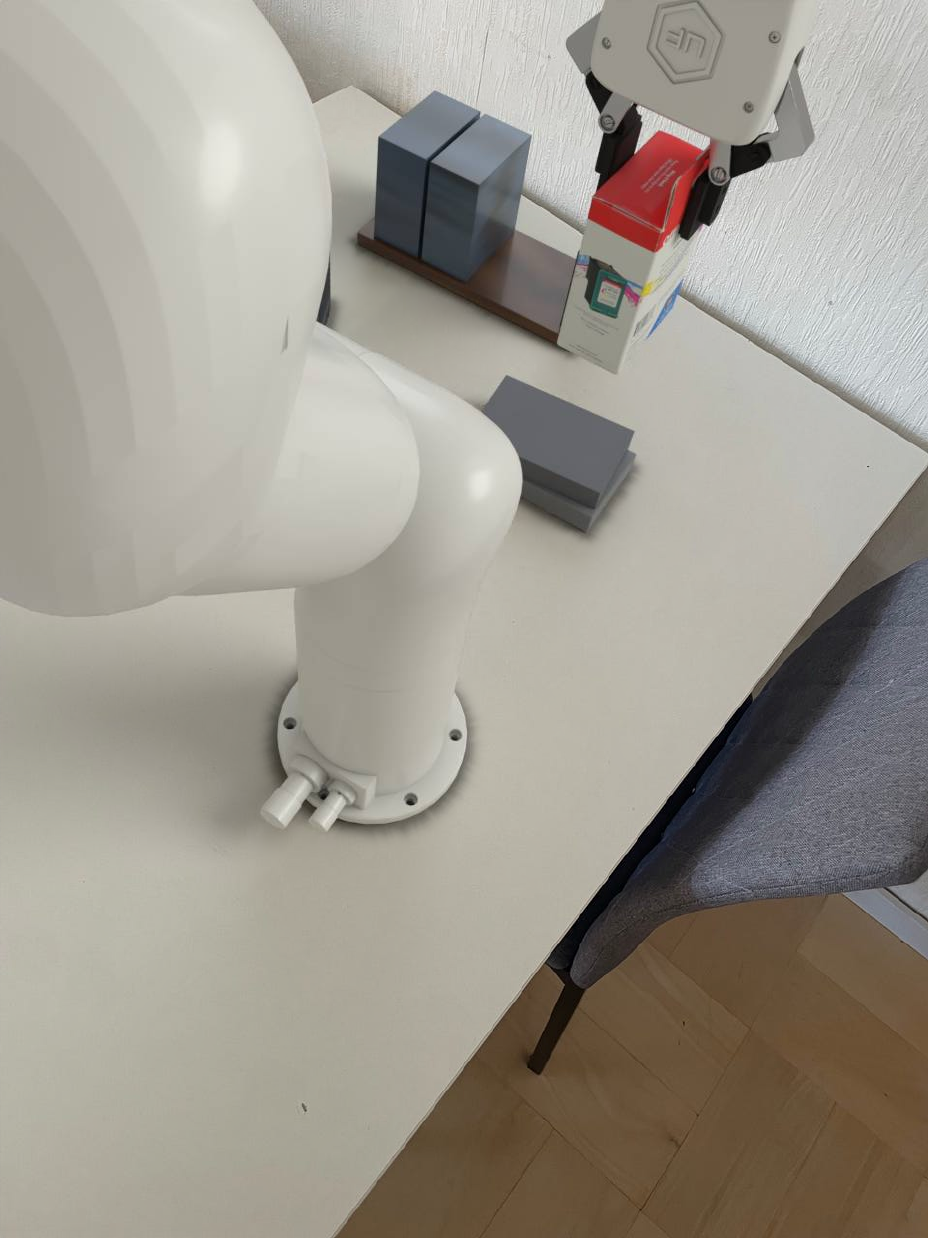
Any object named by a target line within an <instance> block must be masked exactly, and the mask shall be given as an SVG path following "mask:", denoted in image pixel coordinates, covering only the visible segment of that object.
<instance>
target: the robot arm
mask: <svg viewBox="0 0 928 1238" xmlns="http://www.w3.org/2000/svg"><path fill="white" fill-rule="evenodd" d="M820 2H821V0H604V1H603V5H602V8H601V10H600V11H599V12H597V13H596V14H595V15H594V16H592V17H591V18H590V19H589V20H587V21H586V22H584V23H583V24H582V25H581V26H579V27H578V28H576V30H575V31H573V32H572V33H571V34H570V35H569V36H568V37H567V38H566V39H565V47H566V50H567V53H569V55H570V57H571V58H572V60H573V62H574V63H575V65H576V67H577V69H578V70H579V72H580V74H581V75H582V74H583V75H584V77H585V80H584V81H585V87H586V89H587V91H588V93H589V95H590V97H591V100H592V101H593V103H594V105H595V107H596V110H597V112H598V114H599V116H598V118H597V123H598V127H599V129H600V130H601V131H602V136H601V141H600V145H599V150H598V153H597V158H596V161H595V167H594V172H595V173H597V174H599V176H598V181H597V184H596V188H595V193H596V192H597V191H598V190H599V189H600V188H601V187H602V186H603V185H604V184H605V183H606V182H607V181H608V180H609V179H610V178H611V177H612V176H613V175H614V174H615V173H616V172H617V171H618V170H619V169H620V168H621V167H622V166H623V165H624V164H625V163H626V162H627V161H628V160H629V159H630V158H631V157H632V156H633V155H634V154H635V153H636V149H637V147H638V143H639V139H640V134H641V131H642V128H643V124H644V122H643V121H642V118H643V115H642V114H640V113H639V112H638V110H637V109H638V108H639V107H641V108H644V109H646V110H648V111H650V112H652V113H655V114H657V115H659V116H661V117H663V118H666V120H667V119H668V120H669V121H672V122H674V123H676V124H678V125H681V126H682V127H685V128H687V129H689V130H691V131H693V132H696V133H698V134H701V135H702V136H705V137H706V138H709V144H710V149H709V164H708V166H707V168H706V169H705V170H704V171H703V172H702V173H701V174H700V175H699V177H698V178H697V179H696V181H695V184H694V187H693V190H692V193H691V196H690V199H689V202H688V205H687V208H686V210H685V213H684V216H683V219H682V222H681V225H680V228H679V231H678V234H680V238H682V239H685V240H687V241H688V240H689V239H690V238H691V237H692V236H693V235H694V233H695V232H696V231H697V230H698V229H699V227H700V226H701V225H702V224H703V225H704V226H706V227H711V225H713V223H714V222H715V220H716V219H717V218H718V215H719V213H720V211H721V209H722V206H723V204H724V201H725V198H726V196H727V193H728V190H729V187H730V185H731V182H732V179H734V178H737V177H739V176H742V175H744V174H745V175H746V174H747V173H750V172H752V171H755V170H758V169H760V168H763V167H764V166H765V165H766V164H770V163H779V162H782V161H783V162H784V161H786V160H790V159H794V158H799V157H801V156H803V155H804V154H805V153H806V152H807V150H808V149H809V148H810V147H811V146H812V144H813V143H814V141H815V138H816V136H815V132H814V131H815V130H814V127H813V123H812V120H811V116H810V112H809V108H808V105H807V101H806V97H805V92H804V89H803V86H802V82H801V78H800V75H799V70H800V68H801V65H802V62H803V59H804V57H805V53H806V49H807V46H808V43H809V40H810V37H811V33H812V30H813V27H814V24H815V20H816V17H817V13H818V10H819V6H820ZM773 115H774V118H775V122H776V125H777V130H776V131H774V132H768V131H766V132H764V130H765V129H766V128H767V126H768V124H769V122H770V120H771V118H772V116H773ZM329 171H330V170H329V163H328V158H327V152H326V147H325V143H324V138H323V133H322V130H321V126H320V123H319V120H318V117H317V113H316V109H315V107H314V104H313V102H312V98H311V97H310V94H309V91H308V90H307V87H306V84H305V82H304V80H303V78H302V76H301V74H300V72H299V70H298V68H297V66H296V64H295V62H294V60H293V58H292V56H291V55H290V54H289V52H288V50H287V48H286V47H285V45H284V44H283V42H282V40H281V39H280V37H279V34H278V33H277V32H276V31H275V29H274V28H273V26H272V25H271V24H270V22H269V21H268V20H267V18H266V17H265V15H264V14H263V12H262V11H261V10H260V9H259V7H258V6H257V4H256V3H255V2H254V0H0V598H1V599H2V600H3V601H5V602H8V603H11V604H12V605H16V606H18V607H21V608H23V609H25V610H27V611H30V612H36V613H40V614H43V615H48V616H56V617H64V618H88V617H105V616H111V615H117V614H119V613H120V614H121V613H124V612H129V611H133V610H138V609H141V608H147V607H150V606H153V605H155V604H157V603H159V602H162V601H164V600H166V599H168V598H171V597H199V596H215V595H225V594H226V595H227V594H237V593H238V594H239V593H251V592H261V591H263V592H264V591H276V590H286V589H294V594H293V619H294V630H295V631H294V632H295V647H296V666H297V681H296V682H295V683H294V684H293V686H292V687H291V688H290V690H289V692H288V694H287V695H286V697H285V699H284V701H283V703H282V706H281V710H280V713H279V716H278V720H277V721H278V722H277V733H276V735H277V749H278V753H279V757H280V762H281V766H282V767H283V769H284V772H285V774H286V776H287V778H286V779H285V780H284V781H283V783H282V784H281V786H279V787H277V788H275V790H274V791H273V792H272V794H271V795H270V796H269V797H268V799H267V800H266V801H265V803H264V804H263V805H262V806H261V808H260V809H259V815H261V817H262V818H263V819H264V820H265V821H266V822H267V823H268V824H270V825H271V826H272V827H274V828H276V829H278V830H281V831H284V830H285V829H286V828H287V826H288V825H289V824H290V822H291V821H292V820H293V818H294V817H295V816H296V815H297V814H298V812H299V810H300V809H302V806H303V805H302V804H303V803H304V802H305V800H306V801H307V802H308V803H309V804H311V805H312V806H313V807H315V808H316V809H315V810H314V812H313V813H312V814H311V816H310V817H309V819H308V820H307V822H308V824H309V825H310V826H311V827H312V828H313V829H315V830H316V831H318V832H319V833H322V834H326V833H327V832H328V831H329V830H330V828H331V827H332V826H333V824H334V823H335V822H336V821H337V819H339V820H342V821H345V822H348V823H355V824H360V825H385V824H390V823H395V822H399V821H403V820H406V819H409V818H411V817H413V816H415V815H418V814H420V813H423V812H424V811H425V810H426V809H428V808H429V807H431V806H432V805H434V804H435V803H436V802H437V801H438V800H439V799H440V798H441V797H442V796H443V795H444V794H445V793H447V791H448V790H449V788H450V787H451V786H452V784H453V783H454V781H455V780H456V778H457V776H458V775H459V771H460V769H461V766H462V765H463V761H464V757H465V754H466V749H467V741H468V740H467V739H468V729H467V720H466V715H465V712H464V709H463V707H462V704H461V701H460V700H459V697H458V695H457V693H456V692H455V691H456V686H457V682H458V677H459V674H460V673H459V672H460V669H461V665H462V661H463V656H464V651H465V648H466V643H467V637H468V633H469V629H470V624H471V619H472V615H473V613H474V607H475V604H476V601H477V598H478V594H479V592H480V588H481V587H482V584H483V581H484V580H485V576H486V575H487V574H488V573H487V572H488V571H489V569H490V568H491V565H492V563H493V562H494V560H495V557H496V556H497V554H498V552H499V550H500V548H501V546H502V544H503V542H504V540H505V539H506V536H507V535H508V532H509V530H510V528H511V526H512V524H513V521H514V519H515V516H516V513H517V512H518V511H517V510H518V508H519V504H520V499H521V497H520V496H521V491H522V469H521V463H520V460H519V457H518V454H517V452H516V450H515V448H514V446H513V445H512V443H511V442H510V440H509V439H508V437H507V436H506V435H505V433H504V432H503V431H502V430H501V429H500V428H499V427H498V426H497V425H496V424H495V423H494V422H492V421H491V420H490V419H489V418H488V417H487V416H485V415H484V414H483V413H482V412H481V410H479V409H478V408H476V407H475V406H473V405H472V404H471V403H470V402H468V401H466V400H465V399H463V398H461V397H460V396H458V395H456V394H455V393H453V392H452V391H449V390H448V389H446V388H444V387H443V386H441V385H439V384H437V383H435V382H434V381H432V380H430V379H428V378H427V377H425V376H423V375H421V374H420V373H417V372H416V371H413V370H411V369H410V368H408V367H405V366H404V365H403V364H400V363H398V362H396V361H394V360H393V359H391V358H389V357H387V356H386V355H383V354H382V353H380V352H376V351H373V350H372V349H369V348H367V347H365V346H363V345H362V344H360V343H358V342H356V341H354V340H352V339H350V338H349V337H347V336H345V335H343V334H342V333H339V332H338V331H335V330H334V329H332V328H331V327H328V326H324V325H323V324H321V323H319V322H317V321H316V320H317V316H318V311H319V307H320V303H321V298H322V294H323V290H324V286H325V280H326V275H327V270H328V264H329V255H330V256H331V245H332V235H333V194H332V187H331V186H332V185H331V179H330V172H329ZM290 727H291V729H288V728H290ZM453 739H456V740H453ZM323 797H325V799H323ZM408 802H412V803H413V805H410V804H408Z"/></svg>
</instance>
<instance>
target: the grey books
mask: <svg viewBox="0 0 928 1238" xmlns="http://www.w3.org/2000/svg"><path fill="white" fill-rule="evenodd" d="M480 412H482V413H483V414H484V415H485V416H487V417H488V418H489V419H490V420H491V421H492V422H494V423H495V424H496V425H497V426H498V427H499V428H500V429H501V430H502V431H503V432H504V433H505V435H506V436H507V437H508V439H509V440H510V442H511V443H512V445H513V446H514V448H515V450H516V452H517V454H518V457H519V460H520V463H521V469H522V491H521V496H520V498H522V499H524V500H526V501H527V502H530V503H531V504H533V505H535V506H537V507H539V508H540V509H542V510H544V511H545V512H548V513H549V514H551V515H553V516H555V517H557V518H559V519H560V520H563V522H566V523H568V524H570V525H571V526H573V527H575V528H577V529H579V530H580V531H583V532H584V533H588V531H590V529H591V528H592V526H593V525H594V523H595V522H596V520H597V519H598V517H599V515H601V513H602V511H603V510H604V509H605V507H607V505H608V503H609V502H610V500H611V499H612V498H613V496H614V495H615V493H616V492H617V491H618V489H619V488H620V486H621V485H622V483H623V482H624V480H625V479H626V478H627V476H628V475H629V473H630V472H631V470H632V468H633V466H634V462H635V461H636V458H637V453H635V452H633V451H631V450H629V448H630V445H631V443H632V440H633V438H634V435H635V430H634V429H630V428H628V427H626V426H624V425H622V424H620V423H618V422H615V421H613V420H610V419H608V418H606V417H604V416H601V415H599V414H597V413H595V412H592V411H591V410H587V409H585V408H583V407H580V406H579V405H576V404H574V403H572V402H570V401H567V400H565V399H562V398H560V397H558V396H556V395H554V394H551V393H549V392H547V391H545V390H542V389H539V388H538V387H535V386H533V385H531V384H529V383H526V382H525V381H521V380H519V379H517V378H515V377H512V376H511V375H508V374H506V375H505V376H504V377H503V379H502V381H501V382H500V383H499V385H498V387H497V388H496V389H495V390H494V392H493V394H492V395H491V397H490V398H489V400H487V403H486V404H485V405H484V407H483V408H482V410H480Z"/></svg>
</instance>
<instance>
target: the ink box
mask: <svg viewBox="0 0 928 1238" xmlns="http://www.w3.org/2000/svg"><path fill="white" fill-rule="evenodd" d="M709 149H710V143H709V144H708V145H707V146H706V148H704V149H702V148H700V147H698V146H696V145H694V144H692V143H690V142H689V141H688V142H687V141H685V140H684V139H681V138H680V137H677V136H675V135H673V134H670V133H668V132H666V131H663V130H659V129H658V131H656V132H655V133H654V134H653V135H652V136H651V137H650V138H649V139H648V140H647V141H646V142H645V143H644V144H643V145H641V147H640V148H639V149H638V150H637V151H635V153H634V155H633V156H632V157H631V158H630V159H629V160H628V161H627V162H626V163H625V164H624V165H623V166H622V167H621V168H620V169H619V170H618V171H617V172H616V173H615V174H614V175H613V176H612V177H611V178H610V179H609V180H608V181H607V182H606V183H605V184H604V185H603V186H602V187H601V188H600V189H599V190H598V191H597V192H596V191H595V192H594V194H593V195H592V196H591V201H590V206H589V210H588V214H587V217H586V218H587V219H586V222H585V226H584V230H583V234H582V239H581V244H580V247H579V250H580V251H579V250H578V251H579V255H578V259H577V263H576V268H575V272H574V276H573V280H572V284H571V288H570V292H569V296H568V300H567V304H566V309H565V312H564V316H563V320H562V325H561V328H560V333H559V337H558V340H557V344H558V345H557V344H556V345H557V346H558V347H561V348H563V349H564V350H566V351H568V352H570V353H572V354H574V355H576V356H578V357H580V358H581V359H584V360H586V361H588V362H590V363H591V364H593V365H595V366H597V367H598V368H601V369H603V370H605V371H607V372H609V373H611V374H613V375H615V376H617V375H619V374H620V373H621V372H622V370H623V369H624V368H625V367H626V366H627V364H628V363H629V362H630V361H631V360H632V358H633V357H634V356H635V354H637V352H638V351H639V350H640V348H641V347H642V346H643V345H644V343H646V341H647V340H648V339H649V337H650V336H651V335H652V334H653V333H654V332H655V330H657V328H658V327H659V326H660V324H661V323H662V322H663V320H664V319H665V318H667V316H668V314H669V313H670V312H671V311H672V309H673V308H674V305H675V302H676V300H677V297H678V294H679V291H680V290H681V286H682V284H683V281H684V278H685V275H686V272H687V271H688V267H689V264H690V262H691V259H692V256H693V253H694V250H695V249H696V245H697V243H698V240H699V237H700V235H701V232H702V229H703V227H704V224H702V225H701V226H700V227H699V229H698V230H697V231H696V232H695V233H694V235H693V236H692V237H691V238H690V239H689V240H688V241H687V240H685V239H682V238H680V234H678V231H679V228H680V225H681V222H682V219H683V216H684V213H685V210H686V208H687V205H688V202H689V199H690V196H691V193H692V190H693V187H694V184H695V181H696V179H697V178H698V177H699V175H700V174H701V173H702V172H703V171H704V170H705V169H706V168H707V166H708V164H709Z"/></svg>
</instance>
